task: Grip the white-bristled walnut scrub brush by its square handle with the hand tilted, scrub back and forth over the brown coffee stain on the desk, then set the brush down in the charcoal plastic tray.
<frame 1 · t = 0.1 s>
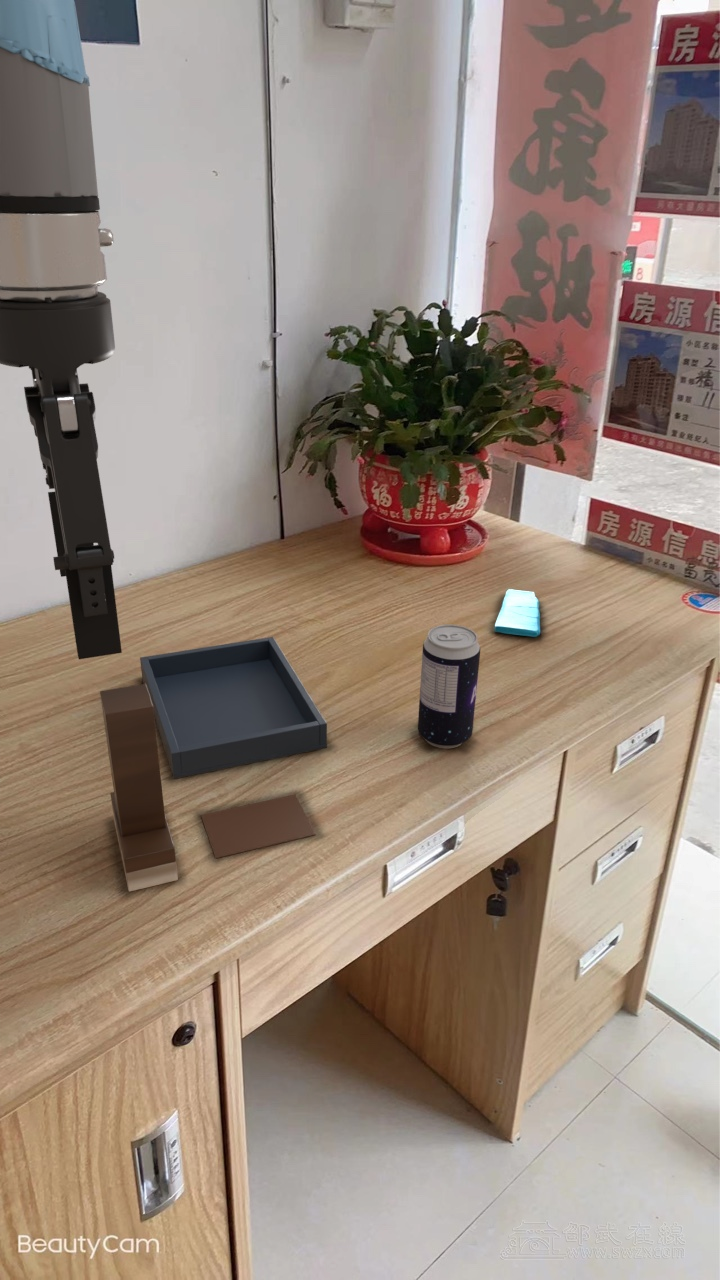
hand: (88, 610, 63), 24 cm above the table, tool pointing down, fingers open, 13 cm apart
beverage can: (444, 738, 92), on the table
stain: (257, 825, 79), on the table
tray: (229, 712, 95), on the table
brush: (145, 850, 76), on the table
sponge: (521, 617, 117), on the table
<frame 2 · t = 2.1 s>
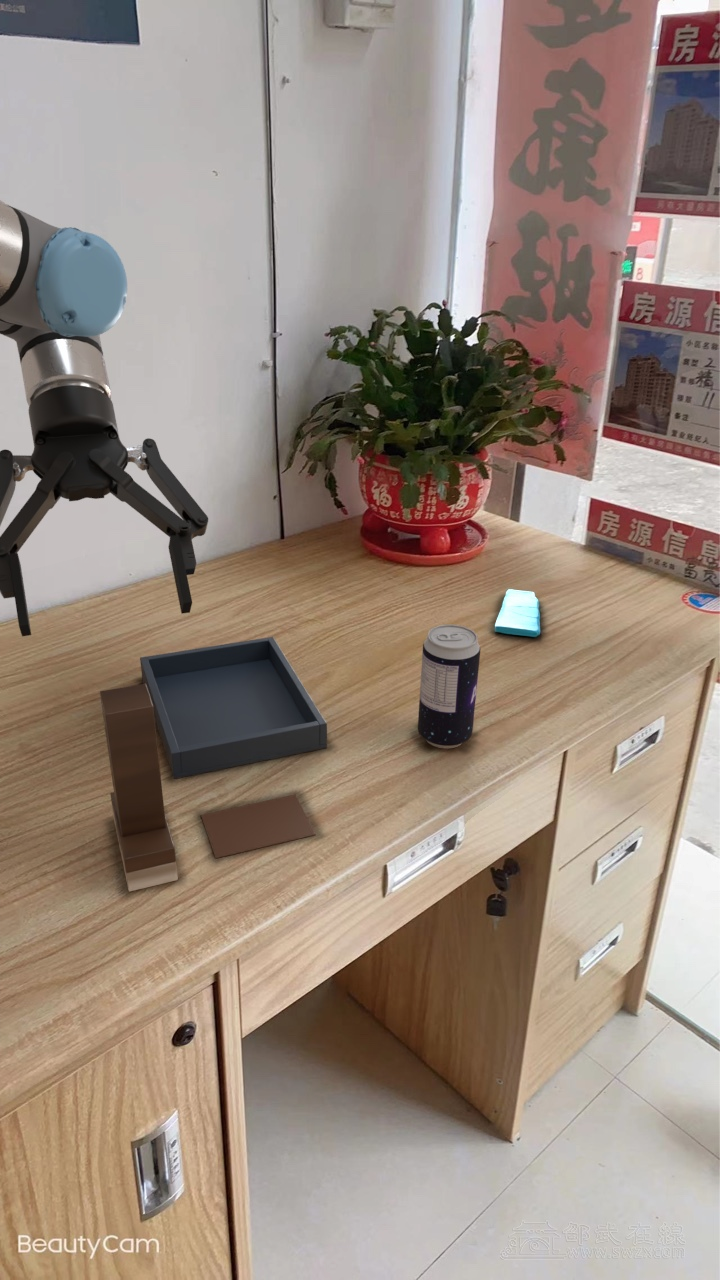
hand: (108, 619, 76), 17 cm above the table, tool tilted 45°, fingers open, 13 cm apart
nothing on the table moved.
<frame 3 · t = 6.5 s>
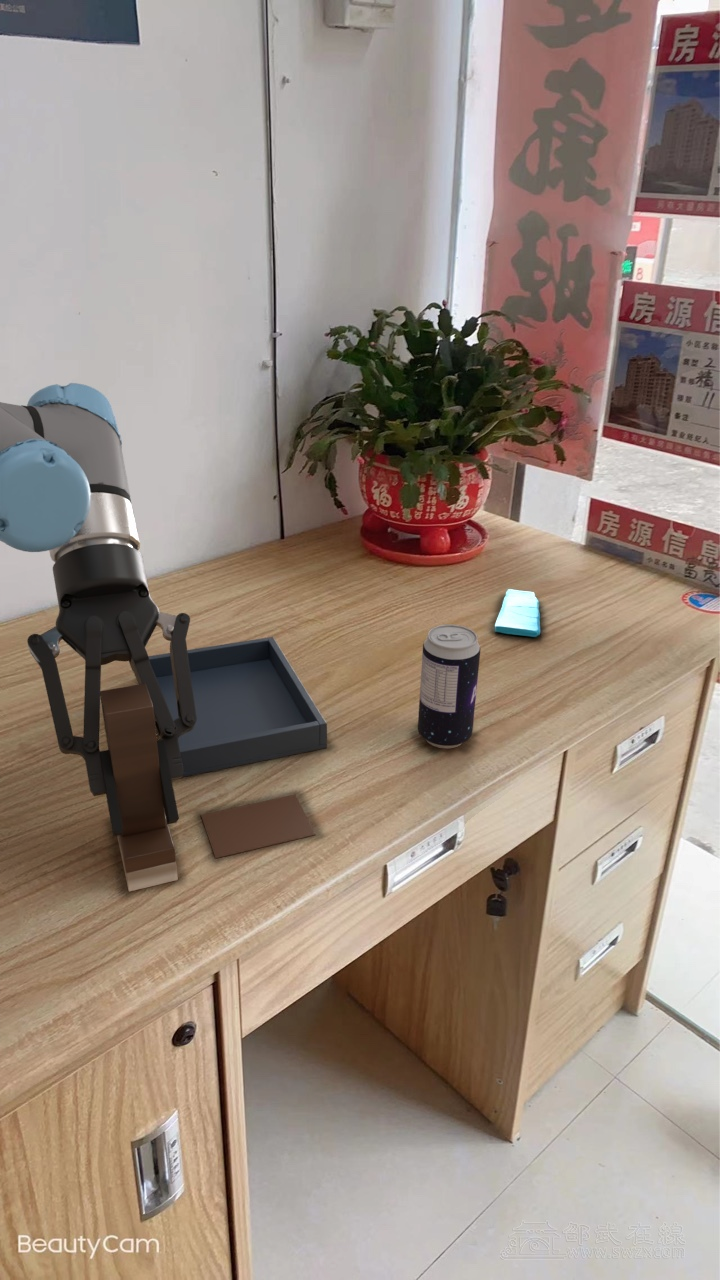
hand: (145, 827, 70), 6 cm above the table, tool tilted 45°, fingers closed on brush, 4 cm apart
brush: (145, 850, 76), on the table, touching gripper
everything else where it was.
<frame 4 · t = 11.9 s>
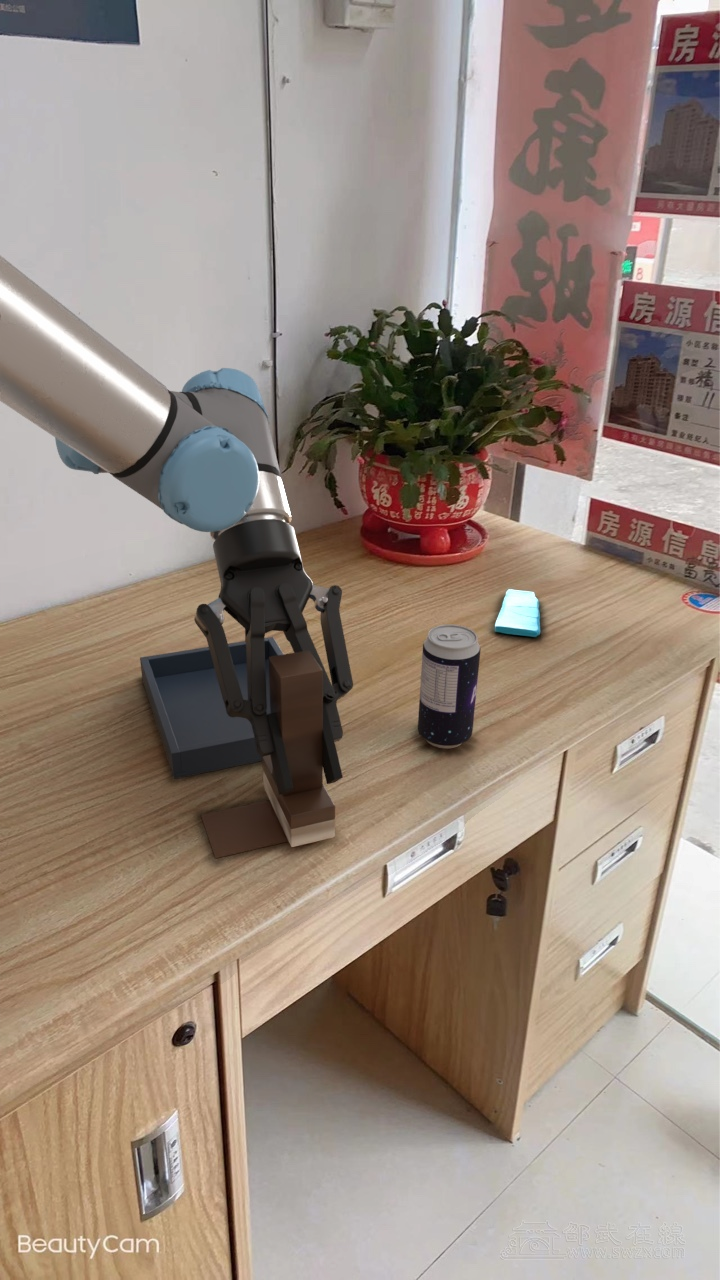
hand: (310, 785, 74), 6 cm above the table, tool tilted 45°, fingers closed on brush, 4 cm apart
brush: (297, 810, 80), point 1 cm above the table, touching gripper
everything else where it was.
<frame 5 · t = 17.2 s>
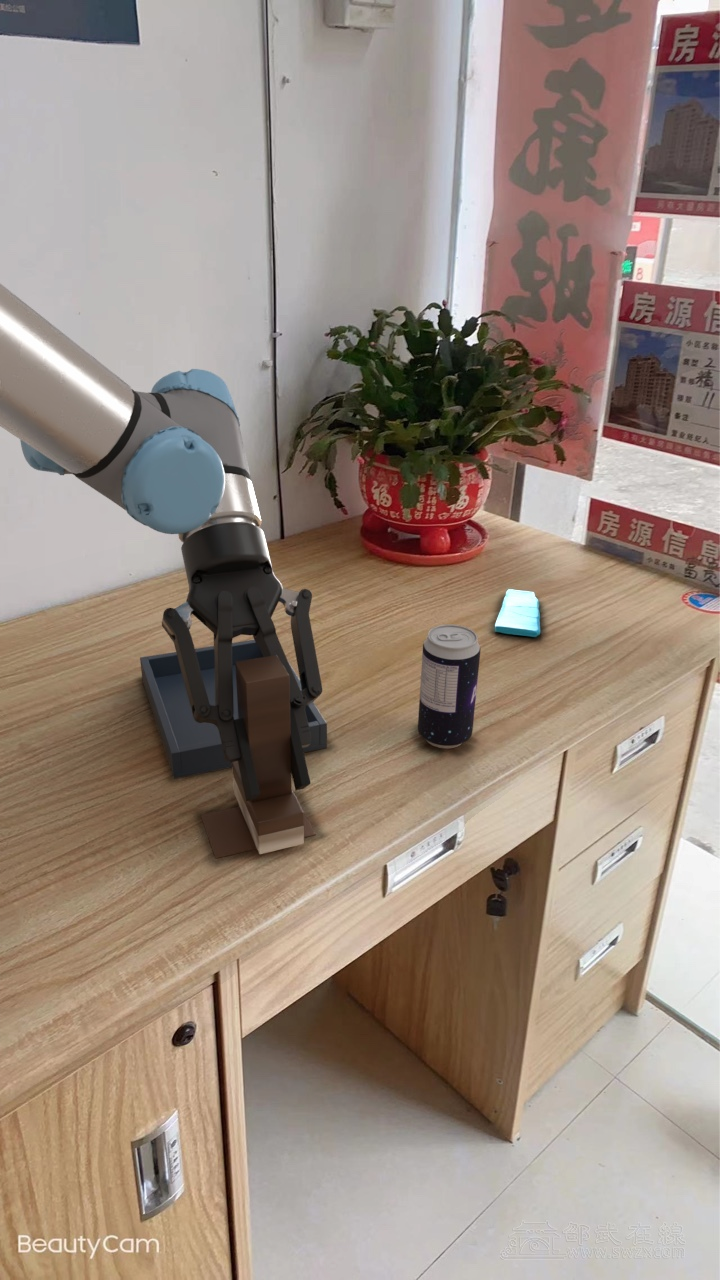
hand: (278, 791, 73), 6 cm above the table, tool tilted 45°, fingers closed on brush, 4 cm apart
brush: (267, 817, 79), point 1 cm above the table, touching gripper
everything else where it was.
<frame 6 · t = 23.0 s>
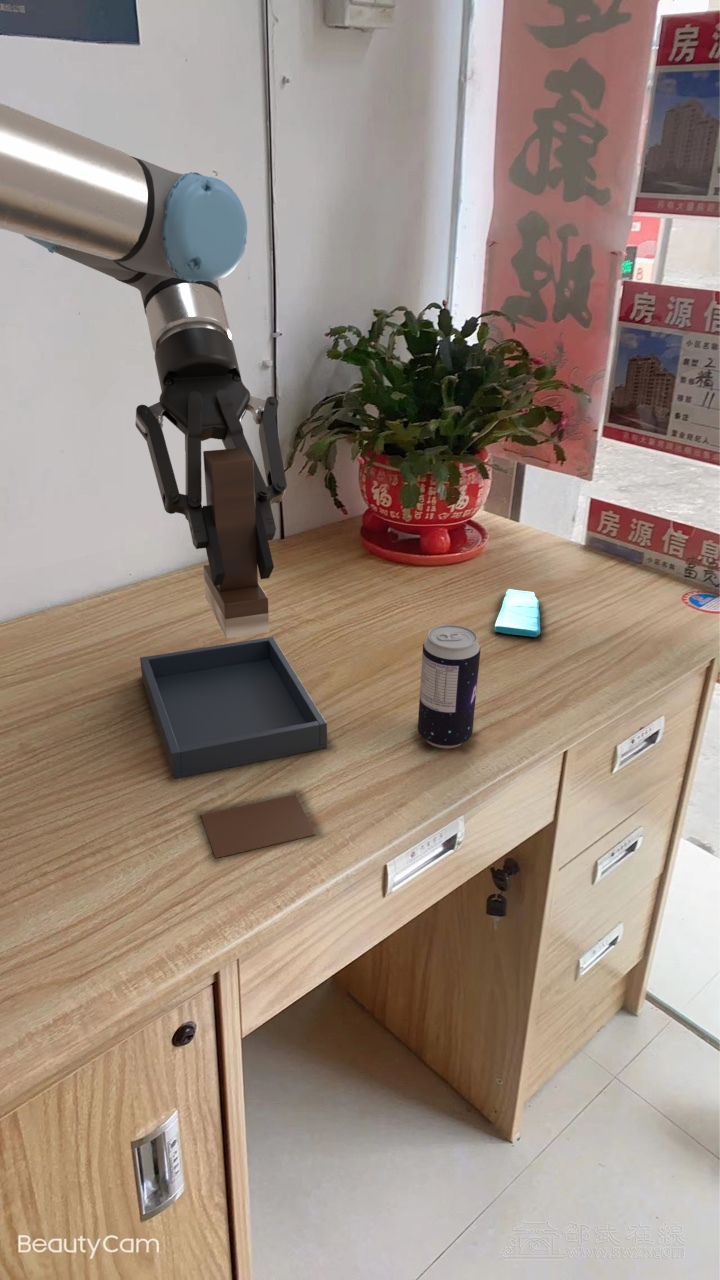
hand: (243, 575, 78), 20 cm above the table, tool tilted 45°, fingers closed on brush, 4 cm apart
brush: (236, 614, 84), point 15 cm above the table, touching gripper
everything else where it was.
when the fingers open (6 cm above the table, at t = 27.8 s): brush stays where it is, resting on tray.
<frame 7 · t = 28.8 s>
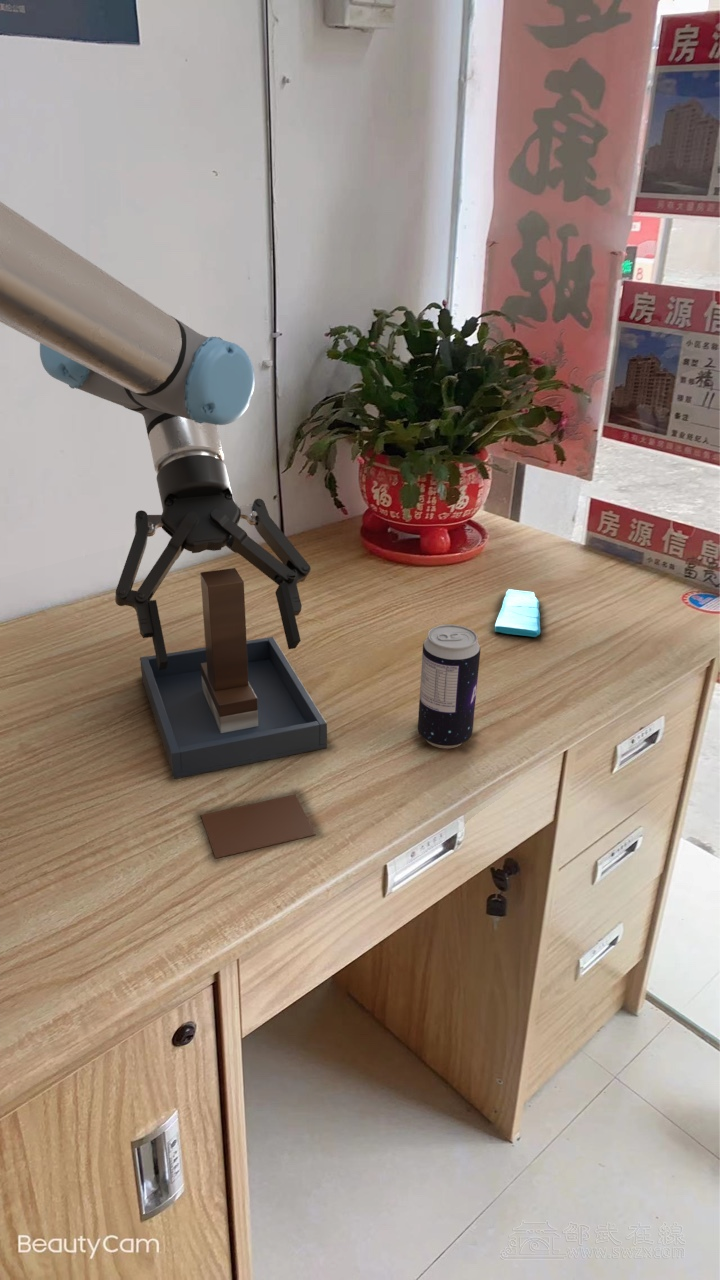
hand: (230, 655, 90), 8 cm above the table, tool tilted 45°, fingers open, 13 cm apart
brush: (229, 707, 95), resting on tray
everything else where it was.
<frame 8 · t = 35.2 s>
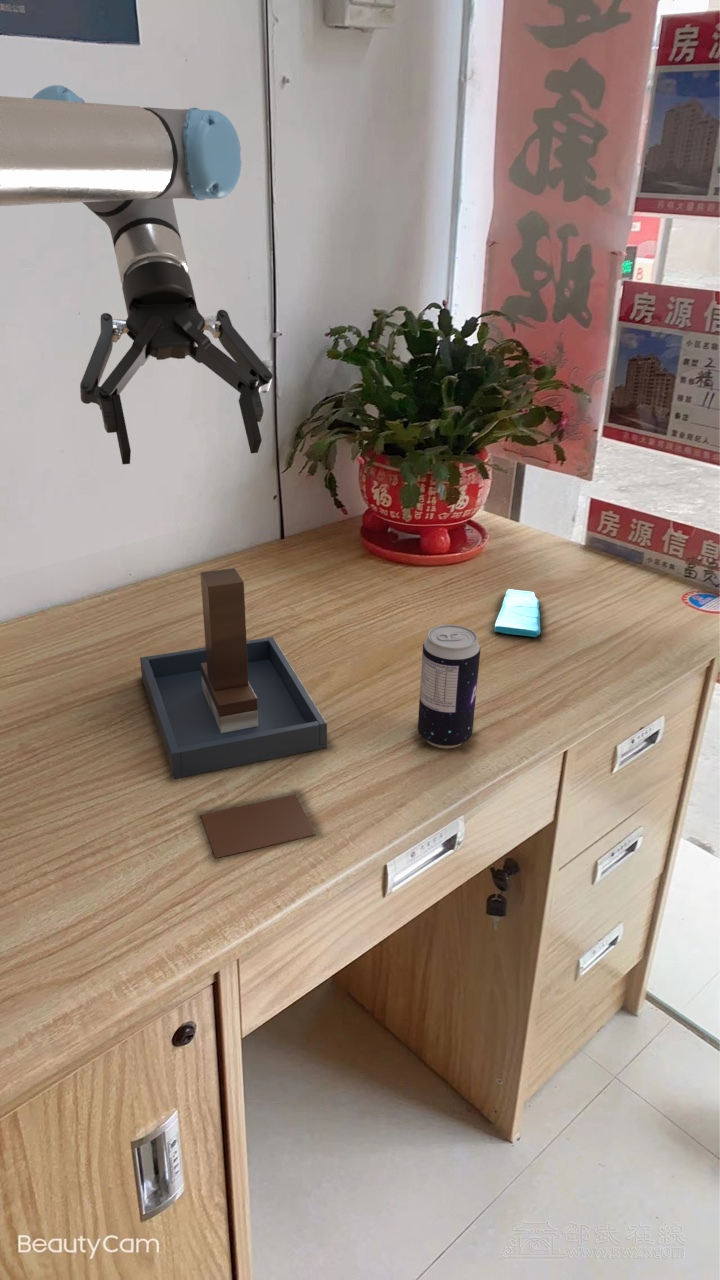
hand: (193, 452, 92), 26 cm above the table, tool tilted 45°, fingers open, 13 cm apart
nothing on the table moved.
at the end: brush inside the target area in the tray (0.1 cm from its centre), point 0.5 cm above the tray's base; brush tilted 0°; brush moved 22.5 cm from its start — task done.
